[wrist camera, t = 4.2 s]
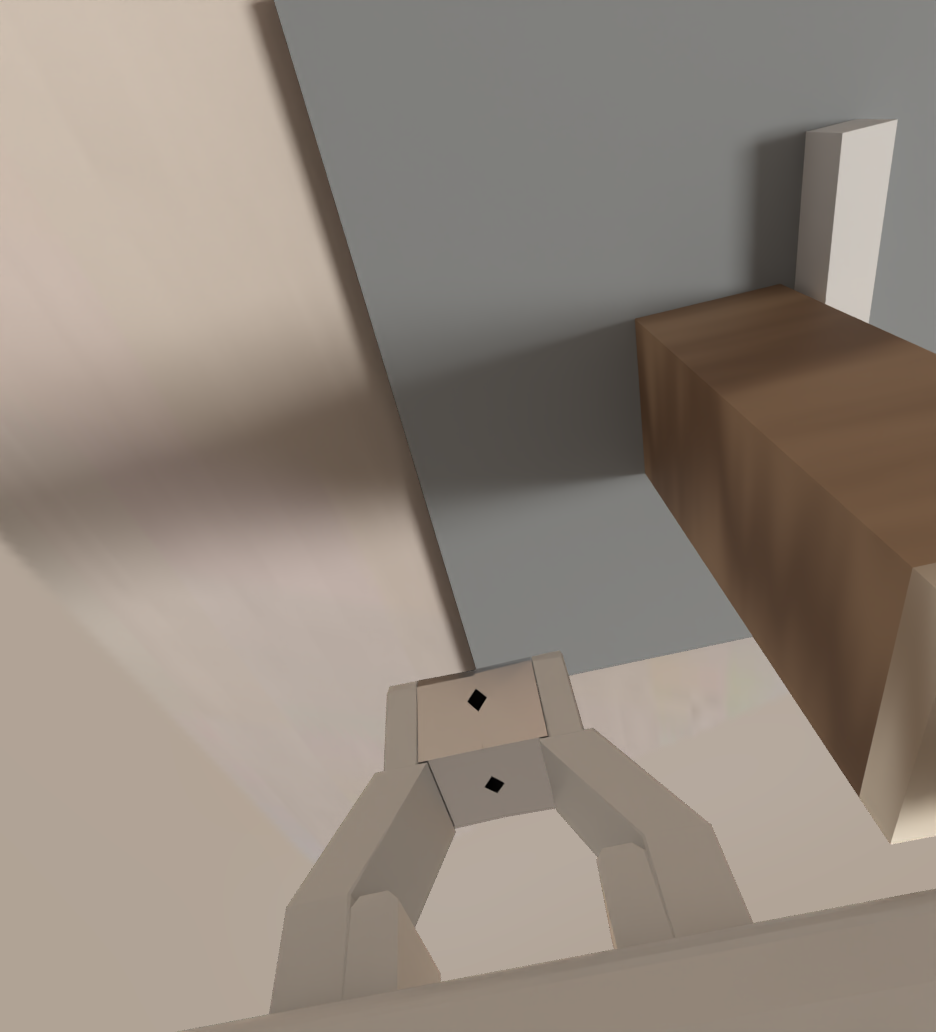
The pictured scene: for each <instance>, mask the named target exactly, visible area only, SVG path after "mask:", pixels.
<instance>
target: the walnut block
mask: <svg viewBox="0 0 936 1032" xmlns="http://www.w3.org/2000/svg"><path fill="white" fill-rule="evenodd" d="M635 330H636V345H637V360H638V375H639V390H640V405H641V420H642V435H643V450H644V465H645V474H646V476H647V477H648V479H649V480H650V482H651V483H652V485H653V486H654V488H655V489H656V491H657V492H658V494H659V495H660V497H661V498H662V500H663V501H664V503H665V504H666V506H667V507H668V509H669V510H670V512H671V513H672V515H673V516H674V518H675V519H676V521H677V522H678V524H679V525H680V527H681V529H682V530H683V532H684V533H685V535H686V536H687V538H688V539H689V541H690V542H691V544H692V545H693V547H694V548H695V550H696V551H697V553H698V554H699V556H700V557H701V559H702V560H703V562H704V563H705V565H706V566H707V568H708V569H709V571H710V572H711V574H712V575H713V577H714V578H715V580H716V581H717V583H718V585H719V586H720V588H721V589H722V591H723V592H724V594H725V595H726V597H727V598H728V600H729V601H730V603H731V604H732V606H733V607H734V609H735V610H736V612H737V613H738V615H739V616H740V618H741V619H742V621H743V622H744V624H745V625H746V627H747V628H748V630H749V631H750V633H751V634H752V636H753V638H754V639H755V641H756V642H757V644H758V645H759V647H760V648H761V650H762V651H763V653H764V654H765V656H766V657H767V659H768V660H769V662H770V663H771V665H772V666H773V668H774V669H775V671H776V672H777V674H778V675H779V677H780V678H781V680H782V681H783V683H784V684H785V686H786V687H787V689H788V690H789V692H790V694H791V695H792V697H793V698H794V700H795V701H796V702H797V704H798V706H799V707H800V709H801V710H802V712H803V713H804V715H805V716H806V717H807V719H808V721H809V722H810V724H811V725H812V727H813V728H814V730H815V731H816V733H817V734H818V736H819V737H820V739H821V740H822V742H823V743H824V745H825V746H826V748H827V749H828V751H829V753H830V754H831V755H832V757H833V759H834V760H835V762H836V763H837V764H838V766H839V768H840V769H841V771H842V772H843V774H844V775H845V776H846V778H847V779H848V781H849V783H850V784H851V786H852V787H853V789H854V790H855V792H856V793H857V795H858V796H859V798H860V799H861V801H862V802H863V804H864V806H865V807H866V809H867V810H868V812H869V813H870V815H871V816H872V818H873V819H874V821H875V822H876V824H877V825H878V827H879V828H880V830H881V831H882V833H883V834H884V836H885V837H886V839H887V840H888V842H889V843H890V844H896V843H901V842H905V841H911V840H917V839H922V838H927V837H932V836H936V354H935V353H933V352H931V351H929V350H926V349H924V348H922V347H920V346H917V345H915V344H913V343H911V342H909V341H906V340H904V339H902V338H900V337H897V336H895V335H893V334H891V333H889V332H886V331H884V330H882V329H880V328H877V327H875V326H873V325H871V324H869V323H866V322H864V321H862V320H860V319H857V318H855V317H853V316H851V315H849V314H846V313H844V312H842V311H840V310H837V309H835V308H833V307H831V306H829V305H826V304H824V303H822V302H820V301H817V300H815V299H813V298H811V297H809V296H806V295H804V294H802V293H800V292H797V291H795V290H793V289H791V288H789V287H786V286H784V285H782V284H777V285H773V286H769V287H765V288H761V289H757V290H752V291H748V292H744V293H740V294H736V295H732V296H727V297H723V298H719V299H715V300H711V301H707V302H702V303H698V304H694V305H690V306H686V307H682V308H677V309H673V310H669V311H665V312H661V313H657V314H652V315H648V316H644V317H640V318H636V319H635Z"/></svg>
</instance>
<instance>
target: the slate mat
mask: <svg viewBox="0 0 936 1032" xmlns="http://www.w3.org/2000/svg"><path fill="white" fill-rule="evenodd" d="M274 2H275V6H276V9H277V12H278V16H279V19H280V22H281V26H282V29H283V32H284V35H285V39H286V42H287V45H288V49H289V52H290V55H291V59H292V62H293V65H294V69H295V72H296V75H297V78H298V82H299V85H300V88H301V92H302V95H303V98H304V102H305V105H306V108H307V111H308V115H309V118H310V121H311V125H312V128H313V131H314V135H315V138H316V141H317V144H318V148H319V151H320V154H321V158H322V161H323V164H324V168H325V171H326V174H327V178H328V181H329V184H330V187H331V191H332V194H333V197H334V201H335V204H336V207H337V211H338V214H339V217H340V220H341V224H342V227H343V230H344V234H345V237H346V240H347V244H348V247H349V250H350V254H351V257H352V260H353V263H354V267H355V270H356V273H357V277H358V280H359V283H360V287H361V290H362V293H363V296H364V300H365V303H366V306H367V310H368V313H369V316H370V320H371V323H372V326H373V329H374V333H375V336H376V339H377V343H378V346H379V349H380V353H381V356H382V359H383V363H384V366H385V369H386V372H387V376H388V379H389V382H390V386H391V389H392V392H393V396H394V399H395V402H396V405H397V409H398V412H399V415H400V419H401V422H402V425H403V429H404V432H405V435H406V439H407V442H408V445H409V448H410V452H411V455H412V458H413V462H414V465H415V468H416V472H417V475H418V478H419V481H420V485H421V488H422V491H423V495H424V498H425V501H426V505H427V508H428V511H429V514H430V518H431V521H432V524H433V528H434V531H435V534H436V538H437V541H438V544H439V548H440V551H441V554H442V557H443V561H444V564H445V567H446V571H447V574H448V577H449V581H450V584H451V587H452V590H453V594H454V597H455V600H456V604H457V607H458V610H459V614H460V617H461V620H462V624H463V627H464V630H465V633H466V637H467V640H468V643H469V647H470V650H471V653H472V657H473V660H474V663H475V666H476V669H478V668H482V667H487V666H491V665H496V664H500V663H504V662H509V661H513V660H518V659H522V658H527V657H531V661H532V656H536V655H541V654H545V653H550V652H554V651H560V652H561V653H562V654H563V658H564V661H565V665H566V668H567V672H568V675H569V676H570V675H574V674H579V673H584V672H588V671H593V670H598V669H603V668H607V667H612V666H617V665H622V664H626V663H631V662H636V661H640V660H645V659H650V658H655V657H659V656H664V655H669V654H674V653H678V652H683V651H688V650H692V649H697V648H702V647H707V646H711V645H716V644H721V643H726V642H730V641H735V640H740V639H744V638H749V637H753V636H752V634H751V633H750V631H749V630H748V628H747V627H746V625H745V624H744V622H743V621H742V619H741V618H740V616H739V615H738V613H737V612H736V610H735V609H734V607H733V606H732V604H731V603H730V601H729V600H728V598H727V597H726V595H725V594H724V592H723V591H722V589H721V588H720V586H719V585H718V583H717V581H716V580H715V578H714V577H713V575H712V574H711V572H710V571H709V569H708V568H707V566H706V565H705V563H704V562H703V560H702V559H701V557H700V556H699V554H698V553H697V551H696V550H695V548H694V547H693V545H692V544H691V542H690V541H689V539H688V538H687V536H686V535H685V533H684V532H683V530H682V529H681V527H680V525H679V524H678V522H677V521H676V519H675V518H674V516H673V515H672V513H671V512H670V510H669V509H668V507H667V506H666V504H665V503H664V501H663V500H662V498H661V497H660V495H659V494H658V492H657V491H656V489H655V488H654V486H653V485H652V483H651V482H650V480H649V479H648V477H647V476H646V474H645V465H644V450H643V435H642V420H641V405H640V390H639V375H638V360H637V345H636V330H635V319H636V318H640V317H644V316H648V315H652V314H657V313H661V312H665V311H669V310H673V309H677V308H682V307H686V306H690V305H694V304H698V303H702V302H707V301H711V300H715V299H719V298H723V297H727V296H732V295H736V294H740V293H744V292H748V291H752V290H757V289H761V288H765V287H769V286H773V285H777V284H782V285H784V286H786V287H789V288H791V289H793V290H795V291H797V292H800V293H802V294H804V295H806V296H809V297H811V298H813V299H815V300H817V301H820V302H822V303H824V304H826V305H829V306H831V307H833V308H835V309H837V310H840V311H842V312H844V313H846V314H849V315H851V316H853V317H855V318H857V319H860V320H862V321H864V322H866V323H869V324H871V325H873V326H875V327H877V328H880V329H882V330H884V331H886V332H889V333H891V334H893V335H895V336H897V337H900V338H902V339H904V340H906V341H909V342H911V343H913V344H915V345H917V346H920V347H922V348H924V349H926V350H929V351H931V352H933V353H935V354H936V0H274ZM532 665H533V664H532ZM534 674H535V673H534ZM535 678H536V677H535Z"/></svg>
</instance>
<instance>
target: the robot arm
mask: <svg viewBox="0 0 936 1032" xmlns="http://www.w3.org/2000/svg"><path fill="white" fill-rule="evenodd" d="M532 664H533V665H532ZM534 673H535V674H534ZM535 677H536V678H535ZM537 686H538V687H537ZM540 699H541V700H540ZM555 808H556V810H557V812H558V813H559V814H560V815H561V816H562V817H563V819H564V820H565V821H566V822H567V823H568V824H569V825H570V826H571V828H572V829H573V830H574V831H575V832H576V833H577V834H578V836H579V837H580V838H581V839H582V840H583V841H584V842H585V844H586V845H587V846H588V847H589V848H590V849H591V850H592V851H593V853H594V854H595V855H596V856H597V857H598V858H597V865H598V871H599V876H600V881H601V887H602V892H603V896H604V902H605V907H606V913H607V917H608V923H609V928H610V933H611V939H612V943H613V947H614V949H613V950H608V951H602V952H597V953H591V954H586V955H581V956H575V957H570V958H565V959H559V960H554V961H549V962H544V963H538V964H533V965H528V966H522V967H517V968H512V969H506V970H501V971H496V972H490V973H485V974H480V975H475V976H469V977H464V978H458V979H453V980H448V981H442V982H441V978H440V971H439V970H438V968H437V966H436V965H435V963H434V961H433V959H432V957H431V956H430V954H429V952H428V950H427V949H426V947H425V945H424V943H423V942H422V940H421V938H420V936H419V934H418V933H417V931H416V930H415V926H416V924H417V921H418V919H419V917H420V914H421V912H422V910H423V907H424V905H425V903H426V900H427V898H428V896H429V893H430V891H431V889H432V886H433V884H434V882H435V879H436V877H437V875H438V872H439V870H440V868H441V865H442V863H443V861H444V858H445V856H446V854H447V851H448V849H449V847H450V844H451V842H452V840H453V837H454V835H455V833H456V831H455V828H460V827H464V826H468V825H473V824H477V823H481V822H486V821H490V820H494V819H499V818H503V817H508V816H514V815H520V814H526V813H531V812H537V811H543V810H549V809H555ZM177 1032H936V889H932V890H926V891H921V892H916V893H910V894H905V895H900V896H895V897H889V898H884V899H879V900H873V901H868V902H863V903H857V904H852V905H847V906H841V907H836V908H831V909H825V910H821V911H815V912H810V913H805V914H799V915H794V916H788V917H783V918H778V919H772V920H767V921H762V922H756V923H753V921H752V919H751V916H750V914H749V912H748V909H747V907H746V905H745V902H744V900H743V898H742V896H741V893H740V891H739V888H738V886H737V884H736V882H735V879H734V877H733V874H732V872H731V870H730V867H729V865H728V863H727V861H726V858H725V856H724V853H723V851H722V848H721V846H720V844H719V842H718V839H717V837H716V835H715V832H714V830H713V827H712V825H711V824H710V823H708V822H707V821H706V820H705V819H704V818H702V817H701V816H700V815H699V814H698V813H696V812H695V811H694V810H693V809H691V808H690V807H689V806H688V805H687V804H685V803H684V802H683V801H682V800H680V799H679V798H678V797H677V796H676V795H674V794H673V793H672V792H671V791H669V790H668V789H667V788H666V787H664V786H663V785H662V784H661V783H660V782H658V781H657V780H656V779H655V778H653V777H652V776H651V775H650V774H649V773H647V772H646V771H645V770H644V769H643V768H641V767H640V766H639V765H638V764H636V763H635V762H634V761H633V760H632V759H630V758H629V757H628V756H627V755H625V754H624V753H623V752H622V751H621V750H619V749H618V748H617V747H616V746H614V745H613V744H612V743H611V742H610V741H608V740H607V739H606V738H605V737H603V736H602V735H601V734H600V733H599V732H597V731H596V730H595V729H594V728H590V729H584V728H583V724H582V721H581V717H580V714H579V710H578V707H577V703H576V700H575V696H574V693H573V689H572V686H571V682H570V679H569V675H568V672H567V668H566V665H565V661H564V658H563V654H562V653H561V652H560V651H554V652H550V653H545V654H541V655H536V656H532V661H531V657H527V658H522V659H518V660H513V661H509V662H504V663H500V664H496V665H491V666H487V667H482V668H478V669H475V670H472V671H466V672H461V673H456V674H450V675H445V676H440V677H434V678H429V679H424V680H418V681H416V682H410V683H405V684H400V685H395V686H390V687H389V690H388V693H387V702H386V726H385V750H384V771H382V772H378V773H375V774H374V775H373V777H372V778H371V780H370V781H369V783H368V784H367V786H366V788H365V789H364V791H363V792H362V794H361V795H360V797H359V798H358V800H357V801H356V803H355V804H354V806H353V807H352V809H351V810H350V812H349V813H348V815H347V816H346V818H345V819H344V821H343V822H342V824H341V825H340V827H339V828H338V830H337V831H336V833H335V834H334V836H333V837H332V839H331V840H330V842H329V843H328V845H327V846H326V848H325V850H324V851H323V853H322V854H321V856H320V857H319V859H318V860H317V862H316V863H315V865H314V866H313V868H312V869H311V871H310V872H309V874H308V875H307V877H306V878H305V880H304V881H303V883H302V884H301V886H300V888H299V889H298V890H297V892H296V894H295V895H294V897H293V898H292V899H291V901H290V902H289V904H288V906H287V907H286V912H285V918H284V924H283V931H282V937H281V943H280V949H279V956H278V962H277V968H276V974H275V980H274V987H273V993H272V1000H271V1006H270V1012H269V1014H267V1015H262V1016H257V1017H252V1018H246V1019H241V1020H236V1021H230V1022H226V1023H220V1024H215V1025H209V1026H204V1027H199V1028H193V1029H188V1030H183V1031H177Z"/></svg>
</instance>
